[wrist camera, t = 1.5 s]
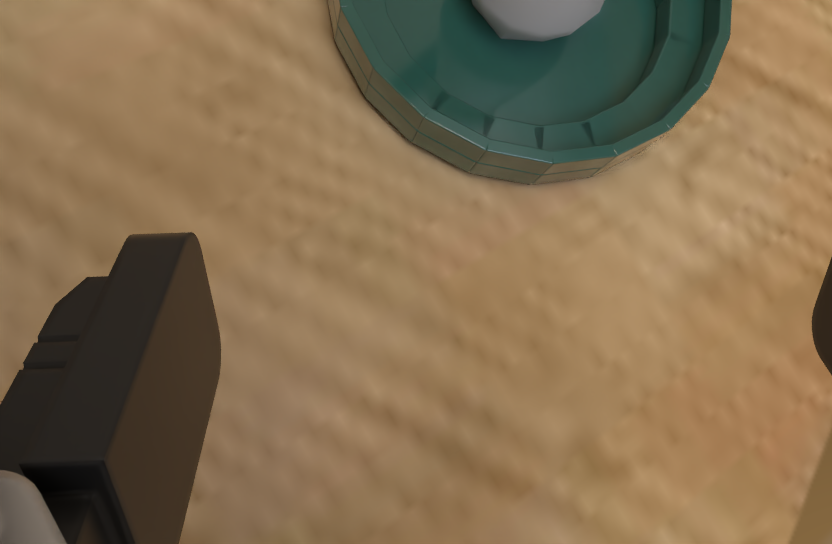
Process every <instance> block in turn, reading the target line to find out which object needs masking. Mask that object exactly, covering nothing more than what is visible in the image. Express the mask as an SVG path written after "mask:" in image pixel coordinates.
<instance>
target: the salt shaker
mask: <svg viewBox="0 0 832 544" xmlns="http://www.w3.org/2000/svg"><path fill="white" fill-rule="evenodd" d="M604 1H605V0H472V4H473V6H474V7H475V8H476V9H477V11H478V12H479V13H480V14H481V15H482V17H483V18H484V19H485V20H486V21H487V23H488V24H489V25H490V26H491V27H492V29H493V30H494V31H495V32H496V34H497V35H498V36H499V37H500V38H501V39H514V40H528V41H542V42H543V41H547V40H551V39H555V38H559V37H564V36H568V35H570V34H572V33H573V32H574V31H575V30H577V29H578V28H579V27H581V26H582V25H583V24H584V23H586V22H587V21H588V20H590V19H591V18H592V17H594V16H595V15H596V14H597V13H599V12H600V9H601V7H602V5H603V3H604Z"/></svg>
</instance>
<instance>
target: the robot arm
mask: <svg viewBox="0 0 832 544" xmlns="http://www.w3.org/2000/svg"><path fill="white" fill-rule="evenodd" d="M812 333H813V339H814V344H815V347H816V350H817V352H818V354H819V356H820V358H821V360H822V361H823V363H824V364H825V366H826V367H827V369H828V370H829V372H830V373H831V375H832V258H831V261H830V264H829V266H828V269H827V272H826V275H825V278H824V281H823V284H822V286H821V289H820V292H819V295H818V298H817V301H816V304H815V307H814V310H813V316H812ZM23 364H24V369H23V370H19V372H18V373H17V375H16V377H15V379H14V381H13V383H12V384H11V386H10V388H9V390H8V392H7V394H6V395H5V397H4V399H3V401H2V403H1V405H0V544H179V540H180V536H181V532H182V528H183V524H184V519H185V515H186V511H187V507H188V503H189V499H190V495H191V491H192V487H193V483H194V479H195V474H196V470H197V466H198V462H199V458H200V454H201V450H202V446H203V442H204V438H205V433H206V429H207V425H208V421H209V417H210V413H211V409H212V405H213V401H214V397H215V393H216V388H217V384H218V380H219V375H220V366H221V342H220V333H219V328H218V323H217V318H216V314H215V309H214V305H213V300H212V296H211V291H210V287H209V282H208V278H207V273H206V269H205V264H204V260H203V255H202V251H201V247H200V244H199V241H198V239H197V237H196V235H195V234H194V233H192V232H188V233H161V234H133V235H130V236H129V237H128V238H127V239H126V241H125V242H124V245H123V247H122V249H121V251H120V253H119V255H118V257H117V259H116V261H115V263H114V265H113V267H112V270H111V272H110V274H109V276H104V277H87V278H86V279H84V280H83V281H82V282H81V283H80V284H79V285H77V286H76V287H75V288H74V289H73V290H72V291H70V292H69V293H68V294H67V295H66V296H65V297H63V298H62V299H61V300H60V301H59V302H58V303H56V304H55V306H54V307H53V309H52V311H51V313H50V315H49V317H48V318H47V320H46V322H45V324H44V326H43V328H42V329H41V331H40V333H39V335H38V343H34V344H33V346H32V348H31V350H30V351H29V353H28V355H27V357H26V359H25V361H24V362H23Z"/></svg>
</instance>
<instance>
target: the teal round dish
mask: <svg viewBox="0 0 832 544" xmlns="http://www.w3.org/2000/svg"><path fill="white" fill-rule="evenodd" d="M328 5H329V11H330V16H331V22H332V28H333V34H334V39H335V42H336V44H337V46H338V48H339V50H340V52H341V54H342V55H343V57H344V59H345V61H346V63H347V65H348V67H349V68H350V70H351V72H352V74H353V76H354V78H355V80H356V81H357V83H358V85H359V87H360V89H361V91H362V93H363V95H364V96H365V98H366V99H367V100H368V101H369V102H370V103H371V104H372V105H373V106H374V107H375V108H376V109H377V110H378V111H380V112H381V113H382V114H383V115H384V116H385V117H386V118H387V119H388V120H389V121H390V122H391V123H392V124H393V125H394V126H395V127H396V128H397V129H398V130H399V131H400V132H401V133H402V134H403V135H404V136H405V137H406V138H407V139H408V140H409V141H410V142H413V143H414V144H416V145H417V146H419V147H421V148H423V149H425V150H427V151H429V152H431V153H433V154H434V155H436V156H438V157H440V158H442V159H444V160H446V161H448V162H450V163H451V164H453V165H455V166H457V167H459V168H461V169H463V170H465V171H467V172H469V173H472V174H477V175H482V176H487V177H492V178H498V179H503V180H508V181H513V182H519V183H524V184H541V183H549V182H557V181H565V180H573V179H580V178H588V177H592V176H594V175H596V174H598V173H600V172H602V171H604V170H606V169H608V168H610V167H612V166H614V165H616V164H618V163H620V162H622V161H624V160H626V159H628V158H630V157H632V156H634V155H636V154H638V153H640V152H641V151H642V150H644V149H645V148H646V147H648V146H649V145H650V144H652V143H653V142H655V141H656V140H657V139H659V138H660V137H661V136H663V135H664V134H665V133H667V132H668V131H669V130H671V129H672V128H673V127H674V125H675V124H676V123H677V122H678V121H679V120H680V119H681V118H682V117H683V116H684V115H685V114H686V113H687V111H688V110H689V109H690V108H691V107H692V106H693V105H694V104H695V103H696V102H697V101H698V100H699V99H700V98H701V96H702V95H703V94H704V93H705V92H706V91H707V90H708V88H709V87H710V84H711V82H712V79H713V77H714V75H715V72H716V70H717V67H718V65H719V62H720V60H721V57H722V55H723V53H724V50H725V48H726V45H727V43H728V40H729V38H730V29H731V8H732V0H605V1H604V3H603V5H602V7H601V9H600V12H599V13H597V14H596V15H595V16H594V17H592V18H591V19H590V20H588V21H587V22H586V23H584V24H583V25H582V26H581V27H579V28H578V29H577V30H575V31H574V32H573V33H572V34H570V35H568V36H564V37H559V38H555V39H551V40H547V41H543V42H542V41H528V40H514V39H501V38H500V37H499V36H498V35H497V34H496V32H495V31H494V30H493V29H492V27H491V26H490V25H489V24H488V23H487V21H486V20H485V19H484V18H483V17H482V15H481V14H480V13H479V12H478V11H477V9H476V8H475V7H474V6H473V4H472V0H328Z"/></svg>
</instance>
